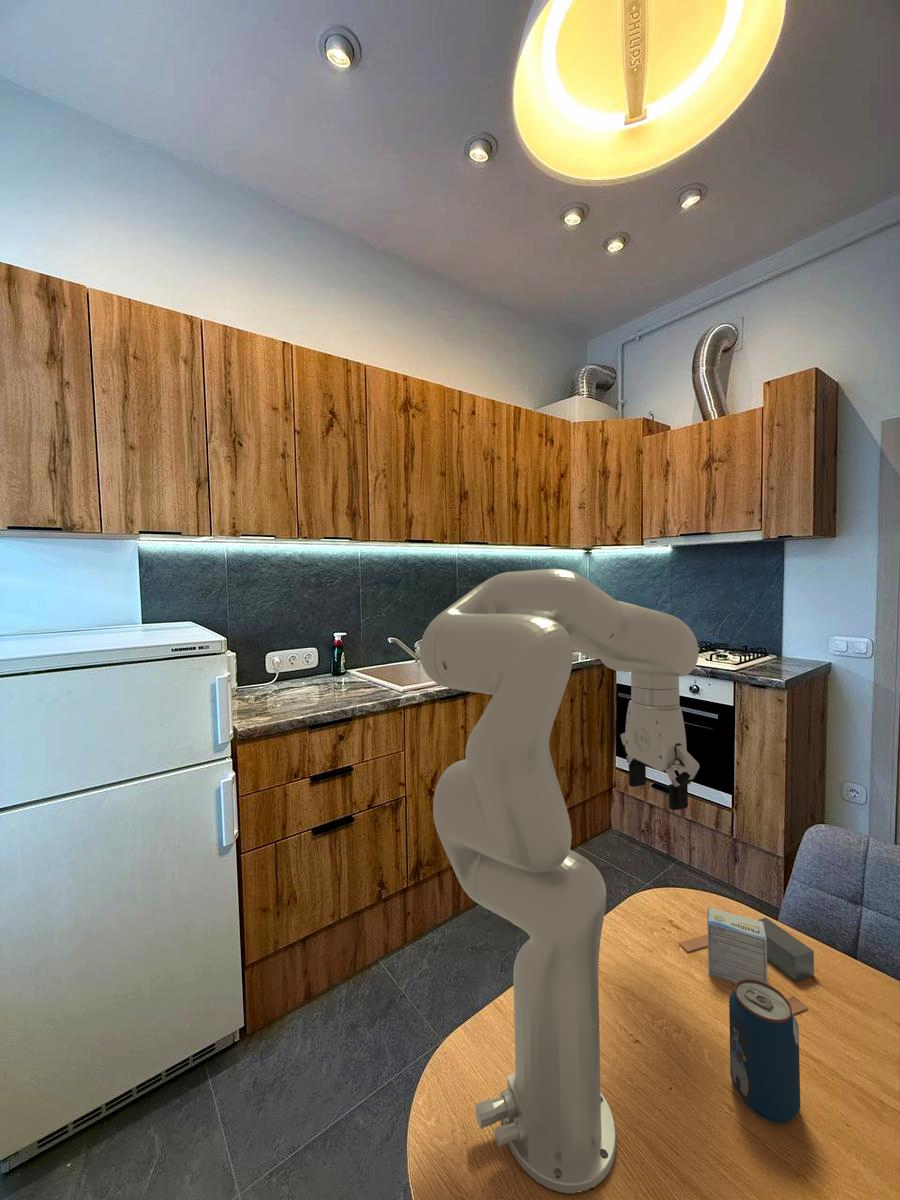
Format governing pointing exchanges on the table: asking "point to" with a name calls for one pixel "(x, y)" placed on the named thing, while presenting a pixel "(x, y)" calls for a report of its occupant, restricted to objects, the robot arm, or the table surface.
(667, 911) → the table surface
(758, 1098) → the soda can
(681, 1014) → the table surface
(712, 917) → the medicine box
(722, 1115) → the table surface
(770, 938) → the connector dock
